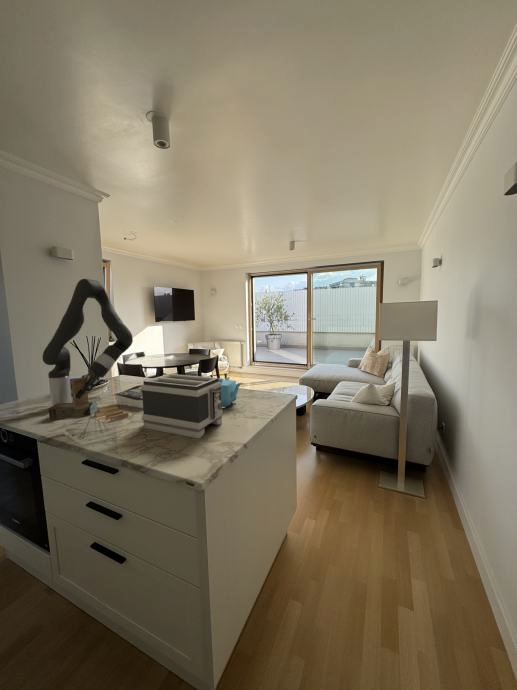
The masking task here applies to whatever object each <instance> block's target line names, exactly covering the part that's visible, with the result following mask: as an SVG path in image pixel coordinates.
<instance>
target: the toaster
mask: <svg viewBox="0 0 517 690" xmlns="http://www.w3.org/2000/svg"><path fill="white" fill-rule="evenodd" d="M219 378H220V377H209V376H198V375H187V374H177V373H176V374H175V373H167V374H165V375H161V376H156V377H154V378H153V377H152V378H149V379H146V380H143V381H142V382H143V383H142V384H141V385H142V386H141V390H142V398H143V408H142V410H143V411H142V412H143V413H142V415H141V420H142V421H143V428H144V429H147V430H153V431H157V432H163V433H167V434H168V433H169V434H173V435H178V436H184V437H189V438H195V439H197V440H198V439H201V438H202V437H204V434H205V431H206V430H205V427H207V426H209V425H215V424H216V425H215V426H220V425H221V424H222V423H223V415H224V412H223V408H222V407H223V404H222V403H221V382H219Z"/></svg>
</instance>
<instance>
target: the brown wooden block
mask: <svg viewBox="0 0 517 690" xmlns="http://www.w3.org/2000/svg"><path fill="white" fill-rule="evenodd" d="M86 380H87V379H86V378H84V377H83V378H81V377H79V378H73V379H71V378H70V386H71V396H72V395H73V396H72V403H73V406H74V409H76V410H78V409H82V408H86V407H89V391H87V392H85V393H84V394H83V395H82V397H81V398H80V399H77V398H76V397H75V395H76V394H77V393H78V392H79V390H80V389H81V388H82V387H83V385H84V382H85V381H86ZM81 390H82V389H81Z"/></svg>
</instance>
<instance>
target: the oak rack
mask: <svg viewBox="0 0 517 690" xmlns="http://www.w3.org/2000/svg"><path fill="white" fill-rule="evenodd" d="M93 414H94V415H92V416H91V415H90V417H91V418H93V419H94V420H98V421H100V422H101V423H104V424H106V425H108V424H111V423H114V422H117V421H121V420H124V419H128V418H131V417H134V416H135V415H134V414H133V413H132V414H131V413H129V412H127V411H124V410H123V409H122V410H121V409H119V407H118V403H117V402H112V403H108V404H105V405H101V406H100V405H99V406H97V411H96V412H94V413H93Z"/></svg>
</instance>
